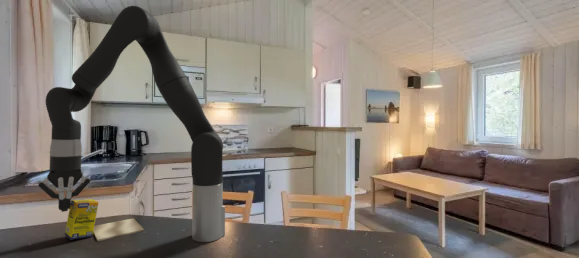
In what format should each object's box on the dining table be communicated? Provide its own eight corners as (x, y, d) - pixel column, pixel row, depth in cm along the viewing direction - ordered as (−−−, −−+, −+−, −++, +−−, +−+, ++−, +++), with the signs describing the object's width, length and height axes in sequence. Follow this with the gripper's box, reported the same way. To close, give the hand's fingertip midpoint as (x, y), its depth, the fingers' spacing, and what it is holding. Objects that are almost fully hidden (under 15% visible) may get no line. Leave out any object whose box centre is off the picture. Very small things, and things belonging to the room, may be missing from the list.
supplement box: (70, 240, 85) (76, 203, 86) (64, 235, 89) (70, 199, 90) (93, 237, 90) (99, 201, 91) (86, 232, 93) (92, 198, 94)
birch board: (133, 219, 106) (133, 218, 106) (144, 230, 95) (144, 229, 95) (90, 228, 97) (90, 226, 97) (97, 241, 86) (97, 239, 86)
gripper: (37, 156, 79) (35, 218, 79) (94, 154, 88) (92, 210, 88) (36, 153, 85) (35, 211, 85) (90, 152, 94) (89, 204, 94)
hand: (64, 210), depth 87 cm, fingers closed
